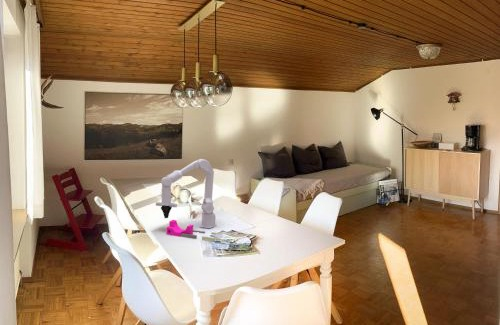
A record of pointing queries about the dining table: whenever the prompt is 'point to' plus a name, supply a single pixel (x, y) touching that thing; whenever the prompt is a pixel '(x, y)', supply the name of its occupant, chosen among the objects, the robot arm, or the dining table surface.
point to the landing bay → (212, 237)
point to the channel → (191, 235)
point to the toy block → (178, 229)
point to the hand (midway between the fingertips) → (166, 217)
